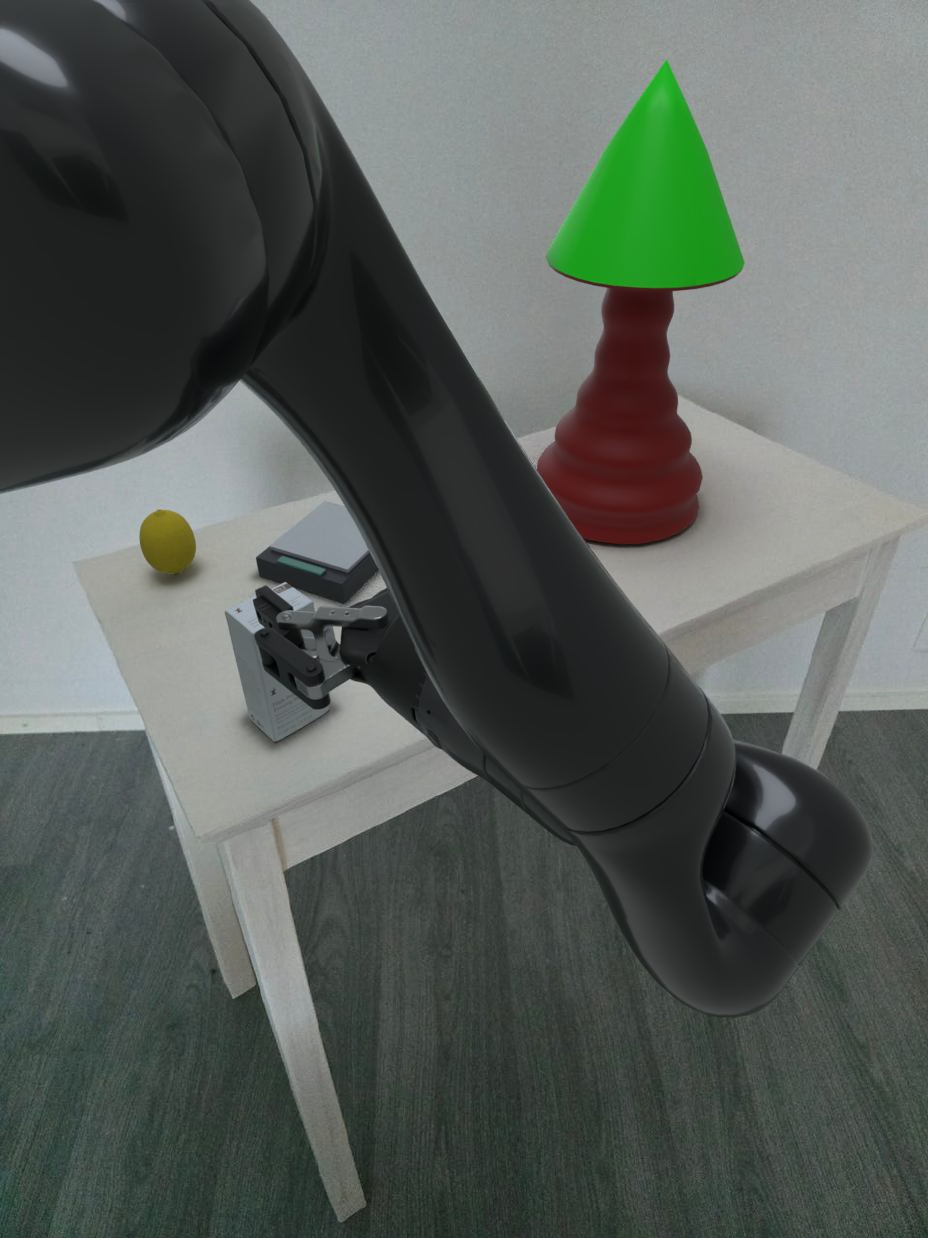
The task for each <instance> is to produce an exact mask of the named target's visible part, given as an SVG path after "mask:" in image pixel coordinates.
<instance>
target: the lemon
mask: <svg viewBox="0 0 928 1238" xmlns="http://www.w3.org/2000/svg"><path fill="white" fill-rule="evenodd" d="M138 537H139V545H140V546H139V547H140V550H141V553H142V555H143V557H144V559H145V561H146V562H147V563H148V564H149V566H151V567H152V568H153V569H154V570H156V571H157V572H160V573H164V574H169V575H170V574H173V575H179V574H180V573H181V572H183V571H184V570H186V569H187V568H188V567H190V565H191V564H193V562H194V559H195V556H196V553H197V543H196V538H195V533H194V530H193V529H192V527H191V525H190V524H189V522H188V521H187V520H186V519H185V518H184V516H183V515H181V514H180V513H178V512H176V511H174V510H170V509H160V508H159V509H156V510H155V511H152V512H151V513H149V514H148V515H147V516H146V517H145V518H144V520H143V521H142V522H141V525H140V528H139V536H138Z"/></svg>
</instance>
